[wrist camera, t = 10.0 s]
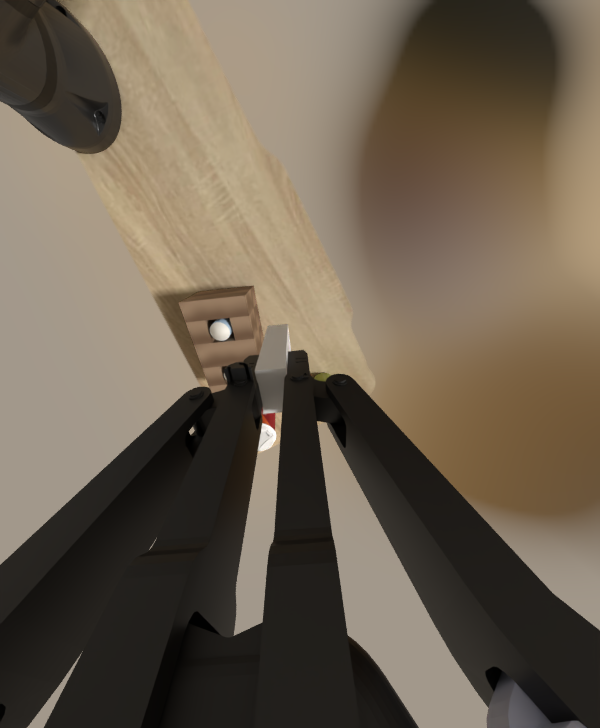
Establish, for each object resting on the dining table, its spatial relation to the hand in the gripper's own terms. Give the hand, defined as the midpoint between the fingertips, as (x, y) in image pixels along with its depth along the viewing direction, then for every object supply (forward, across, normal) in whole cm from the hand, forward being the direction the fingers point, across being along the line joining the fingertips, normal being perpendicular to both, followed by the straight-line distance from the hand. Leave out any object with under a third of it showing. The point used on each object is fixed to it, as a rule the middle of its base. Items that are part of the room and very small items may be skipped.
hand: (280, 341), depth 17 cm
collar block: (+35, -14, -12) cm, 39 cm away
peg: (+34, -14, -7) cm, 37 cm away
